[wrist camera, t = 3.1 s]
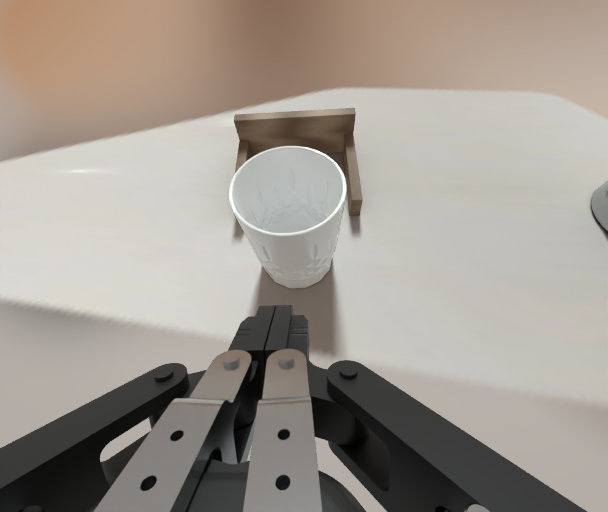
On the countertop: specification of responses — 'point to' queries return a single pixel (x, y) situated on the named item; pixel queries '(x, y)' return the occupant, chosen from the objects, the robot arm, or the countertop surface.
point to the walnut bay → (304, 139)
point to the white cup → (290, 211)
